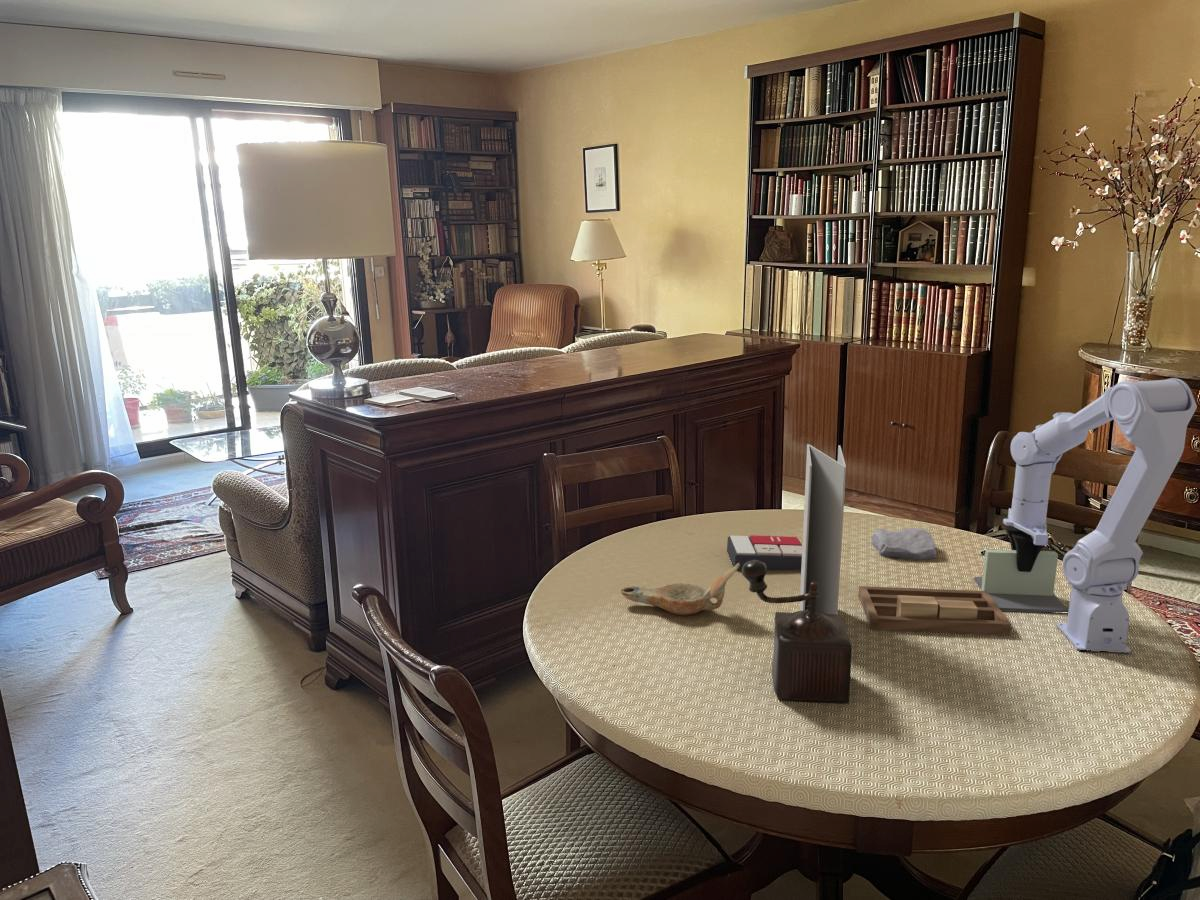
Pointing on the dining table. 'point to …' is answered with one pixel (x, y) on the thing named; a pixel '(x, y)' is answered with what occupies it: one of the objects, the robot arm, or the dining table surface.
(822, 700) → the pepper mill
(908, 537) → the stone block
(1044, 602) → the mat
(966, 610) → the offcut
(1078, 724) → the dining table surface
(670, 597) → the oil lamp
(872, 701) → the dining table surface
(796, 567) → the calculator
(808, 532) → the brochure
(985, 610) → the rack
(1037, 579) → the pale green rectangular block
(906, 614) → the offcut
